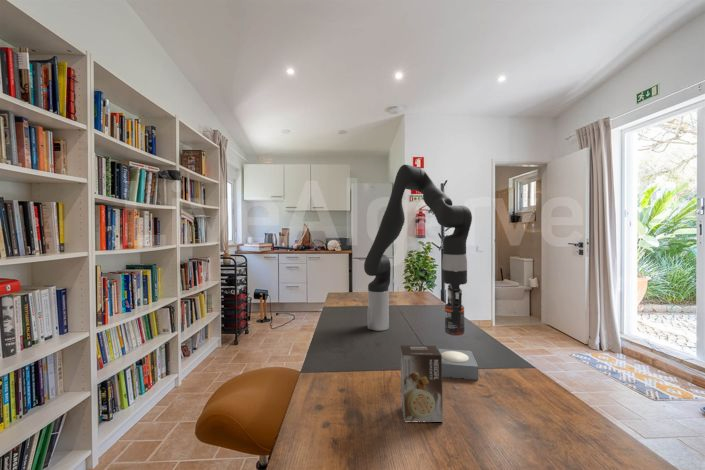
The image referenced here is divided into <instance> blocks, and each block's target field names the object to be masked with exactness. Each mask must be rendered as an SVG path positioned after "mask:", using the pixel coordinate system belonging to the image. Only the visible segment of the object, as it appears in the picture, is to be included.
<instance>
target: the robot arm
mask: <svg viewBox="0 0 705 470" xmlns="http://www.w3.org/2000/svg"><path fill="white" fill-rule="evenodd" d="M406 190H409V191H416V192H419V193H421V194H422V199H423V202H424V203H425V205H426V206H427V207H428V208H429V209H430V210H431V211H432V212H433V214H434V217H435V220H436V222H437V223H438V225H439V226H441V227H443V228H447V229H448V228H449V229H450V228H452V229H453V228H454V230H453V233H452V234H450V235H446V236H444V237H443V240H442V261H441V264H442V265H441V268H442V271H441V274H442V276H441V278H442V280H441V281H442V283H443V284H446V285H447V298H448V297H450V304H451V305H452V309H451V311H452V323H453V324H459V323H460V312H461V310H462V309H461V305H462V302H463V301H462V297H463V290H462V289H461V287H460V286H461V285H466V284H467V283H468V259H467V240H468V238H469V237H468V236H469V233H470V229H471V225H472V223H473V222H472V221H473V216H472V212H471V210H470V208H469V207H468V206H465V205H453V200H452V199H451V198H450V196H448V195H447V194H446V193H445V192H444V191H442V190H441V189H440V188H439V187H437V185H436V184H435V183H434V182H433V180H432V178H431V177H430V176H429V175H428V173H427V171H425V170H424V169H423V168H421V167H418V166H413V165H410V164H402V165H401V166H400V167H399V169H398V171H397V172H396V175H395V179H394V183H393V187H392V190H391V193H390V197H389V200H388V203H387V205H386V209H385V211H384V214H383V216H382V218H381V220H380V224H379V228H378V230H377V233H376V235H375V238H374V240H373V243H372V245H371V247H370V249H369V251H368V253H367V256H366V258H365V261H364V264H363V269H364V272H365V274H366V275H367V276H369V277H374V276H375V277H374V279H373V280H372V281H371V282H369V283H368V285H367V297H368V300H367V303H368V305H367V310H366V311H367V316H366V317H367V329H368V330H372V331H377V332H378V331H386V330H388V329H389V328H390V327H389V321H390V320H389V319H390V317H389V313H390V312H389V308H390V307H389V304H390V303H389V287H390V284H391V272H392V271H391V270H392V269H391V266H392V265H391V261H390V259H389V257H388V256H387V255H386V254H385V252H386V251H387V249H388V248H389V247H390V246H391V245H392V244H393V243H394V242H395V241H396V239H398V237H399V236H400V234H401V231H402V230H403V226H404V225H405V219H406V218H405V212H404V207H403V198H404V197H403V196H404V193H405V191H406ZM452 300H453V301H452ZM455 304H456V305H458V307H455Z"/></svg>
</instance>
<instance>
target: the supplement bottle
mask: <svg viewBox="0 0 705 470" xmlns="http://www.w3.org/2000/svg"><path fill="white" fill-rule="evenodd" d="M452 301H453V300H452ZM455 307H458V305H456V304H455ZM451 309H452V305H451V304H450V297H448V296H447V303H446V304H445V305H444V331H445V333H446V334H448V335H450V336H456V337H457V336H459V337H460V336H462V335H464V334H465V307H464V305H463V304H461V309H462V310H461V312H460V323H459V324H453V323H452V311H451Z"/></svg>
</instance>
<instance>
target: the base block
mask: <svg viewBox="0 0 705 470" xmlns="http://www.w3.org/2000/svg"><path fill="white" fill-rule="evenodd" d="M437 349H438V350H439V352H440V354H441V355H442V378H450V377H452V379H461V378H464V380H475V381H479V365H478V363H477V361H476V359H475V357H474V354H473V352H472V350H462V349H447V348H437Z"/></svg>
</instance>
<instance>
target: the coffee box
mask: <svg viewBox="0 0 705 470" xmlns="http://www.w3.org/2000/svg"><path fill="white" fill-rule="evenodd" d="M438 349H439V348H437V347H436V345H405V344H403V345H401V344H400V393H401V395H400V397H401V401H400V402H401V403H400V404H401V406H400V407H402V408H401V412H403V413H402V417H404V418H403V421H404V420H405V421H418V422H419V421H420V422H423V421H425V422H443V423H444V411H443V410H444V409H443V405H444V404H443V377H442V355H441V354H440V352H439V350H438Z"/></svg>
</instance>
